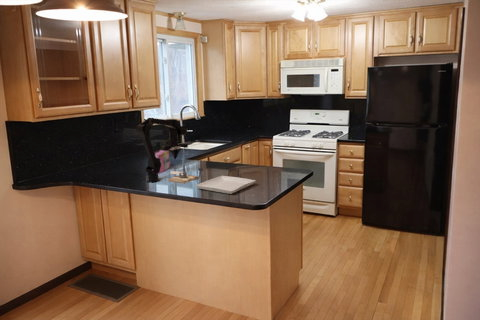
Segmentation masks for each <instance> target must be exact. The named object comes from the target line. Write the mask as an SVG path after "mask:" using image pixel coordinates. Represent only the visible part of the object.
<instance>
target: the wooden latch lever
mask: <svg viewBox="0 0 480 320" xmlns="http://www.w3.org/2000/svg"><path fill="white" fill-rule="evenodd" d="M170 175H176V176H179V178H187V175H188V173H187V171H186V172H185V171H174V170H170Z"/></svg>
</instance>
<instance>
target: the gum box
mask: <svg viewBox="0 0 480 320" xmlns="http://www.w3.org/2000/svg"><path fill="white" fill-rule="evenodd" d="M154 153H155V156H156V158H160V162H161V167H160V172H159V173H158V174H161V173H162V172H164V171H166V170H167V169H169V168H170V167H171V159H170V150H168V151H163V150H161V149H159V150H157V151H154Z"/></svg>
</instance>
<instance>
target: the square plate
mask: <svg viewBox="0 0 480 320" xmlns="http://www.w3.org/2000/svg"><path fill="white" fill-rule="evenodd" d="M254 183H256V179H251V178H244V177H239V176H238V177H236V176H227V175H220V176H216V177H214V178H210V179H207V180H205V181H203V182H201V183H198V184H196V185H195V186H196V187H197V188H199V189H201V190H205V191H209V192H217V193H222V194H229V195H231V194H234V193H237V192H238V191H240V190H243V189H246V188H248V187H249V186H252V185H254Z"/></svg>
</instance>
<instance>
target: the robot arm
mask: <svg viewBox="0 0 480 320" xmlns="http://www.w3.org/2000/svg"><path fill="white" fill-rule="evenodd" d="M154 125H160V126H161V125H162V126H165V127H168V128H167V129H166V132H169V133H168V134H169V138H168V140H167V139H165V140H163V145H161V146H160V150H162V151H168V150H169V152H171V154H172V156H173V159H174V160H176V159H177V158H178V155H179V152H180V151H181V150H182V149H181V148H183V149H185V148H186V149H187V148H189V146H188V143H187V142H181V143H180V142H179V140H180V137H181V136H186V135H187V134H188V130H187V128H186V126H185V125H181V124H180V123H179V120H178V119H176V118H167V119H166V118H165V119H163V118H155V117H147V118H146V119H145V120H144V121H142V122H141V123H139V124H138V125H137V126H136V128H135V130H136V132H137V135H138V136H139V137H140V138H141V140H142V143H143V145H144V149H145V153H146V155H147V166H146V168H145V169H144V170H145V173H147V179H148V180H147V181H146V183H150V184H151V183H153V184H154V183H157V182H160V181H161V179H159V174H160V173H159V172H160V167H161V162H160V158H156V156H155V151H154V147H153V144H152V142H151V141H152V140H151V137H150V136H151V129H152V128H153V126H154Z"/></svg>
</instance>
